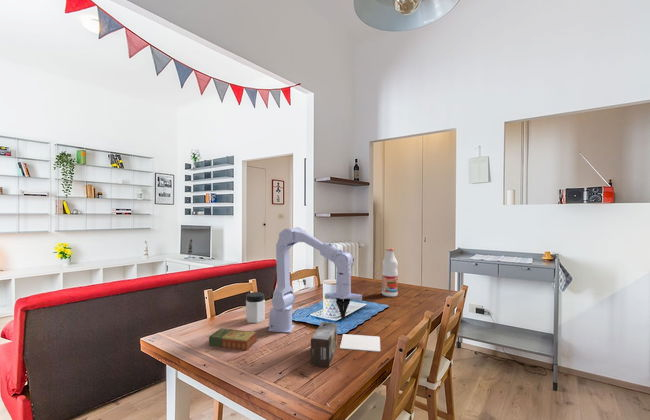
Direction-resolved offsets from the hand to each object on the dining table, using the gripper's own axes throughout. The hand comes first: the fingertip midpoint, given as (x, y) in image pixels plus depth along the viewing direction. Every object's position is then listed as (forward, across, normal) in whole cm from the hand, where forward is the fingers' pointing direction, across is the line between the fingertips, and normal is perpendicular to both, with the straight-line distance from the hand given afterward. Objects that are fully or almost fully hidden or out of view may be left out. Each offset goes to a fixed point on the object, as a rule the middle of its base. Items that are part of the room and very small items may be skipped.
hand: (343, 317), depth 124 cm
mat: (+9, +7, 0) cm, 12 cm away
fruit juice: (+10, +21, +71) cm, 75 cm away
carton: (+10, -42, -9) cm, 44 cm away
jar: (+10, -43, +16) cm, 47 cm away
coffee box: (+5, -5, -4) cm, 8 cm away
